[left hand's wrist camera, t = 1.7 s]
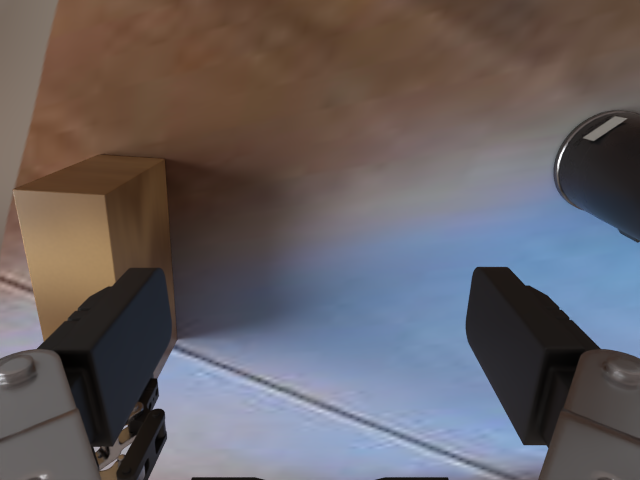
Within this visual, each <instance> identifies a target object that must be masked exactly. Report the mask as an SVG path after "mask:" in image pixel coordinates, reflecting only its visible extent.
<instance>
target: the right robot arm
mask: <svg viewBox="0 0 640 480" xmlns="http://www.w3.org/2000/svg"><path fill="white" fill-rule="evenodd" d="M158 397H159V392H158V382H157V378H154V374H152V376H151V378H150V380H149V382H148V384H147V385H146V387H145V389H144V391H143V393H142V394H141V396H140V398H139V400H138V402H137V404H136V405H135V407H134V409H133V411H132V413H131V415H130V416H129V418H128V420H127V422H126V424H125V425H127V424H128V427H126V428H125V429H123V430H122V431H121V433H120V435H119V437H118V438H117V440H116V442H115V444H114V446H113V447H100V449H99V450H98V451H97V452H96V453H95V451H94V448H93V447H91V449H92V452H93V455H94V458H95V461H96V464H97V467H98V470H99V473H100V476H101V479H102V480H148V478H149V476H150V474H151V472H152V470H153V468H154V465H155V463H156V461H157V459H158V457H159V455H160V452H161V450H162V448H163V446H164V444H165V442H166V440H167V432H166V428H165V412H164V410H162V409H154V410H153V407H154V405H155V403H156V400H157V399H158ZM131 443H132V444H131ZM129 444H131V446H130V448H129V450H128V452H127V453H126V455H124V454H122V455H120V454H121V451H122V450H123V449H124V448H125V447H126V446H128V445H129ZM116 459H117V461H116V462H115V463H114V465H113V466H112V467H111V468H109V469H107V470H104V471H100V470H101V469H103V468H104V467H105V466H107V465H108V464H110V463H111V462H113V461H114V460H116Z"/></svg>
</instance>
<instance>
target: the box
mask: <svg viewBox="0 0 640 480" xmlns="http://www.w3.org/2000/svg"><path fill="white" fill-rule="evenodd" d="M13 194H14V199H15V204H16V209H17V214H18V219H19V224H20V228H21V233H22V238H23V243H24V248H25V253H26V257H27V262H28V267H29V272H30V277H31V282H32V287H33V291H34V296H35V301H36V306H37V311H38V316H39V321H40V325H41V330H42V335H43V340H44V341H45V340H46V339H47V338H48V337H49V336H50V335H51V334H52V333H53V332H54V331H55V330H56V329H57V328H58V327H59V326H60V325H61V324H62V323H63V322H64V321H67V320H68V317H69V316H70V315H71V314H72V313H73V312H74V311H77V310H78V307H79V306H81V305H82V304H83V303H84V302H85V301H86V300H87V299H88V298H89V297H90V296H91V295H93V294H95V293H97V292H99V291H100V290H102V289H104V288H106V287H108V286H113V285H114V283H115V282H116V281H117V280H118V279H119V278H120V277H121V276H122V275H123V274H124V273H125V272H126V271H127V270H128V269H129V268H161V269H162V270H163V271H164V274H165V278H166V285H167V291H168V298H169V305H170V312H171V318H172V334H171V339H170V342H169V345H168V347H167V349H166V351H165V352H164V354H163V356H162V358H161V360H160V362H159V363H158V365H157V367H156V369H155V371H154V373H153V374H154V378H158V376H159V374H160V372H161V371H162V369H163V367H164V365H165V363H166V361H167V359H168V357H169V355H170V353H171V351H172V349H173V347H174V345H175V343H176V341H177V330H176V315H175V301H174V286H173V272H172V257H171V243H170V228H169V214H168V199H167V185H166V170H165V159H162V158H146V157H131V156H115V155H96V156H94V157H92V158H89V159H87V160H84V161H82V162H79V163H77V164H74V165H72V166H69V167H67V168H64V169H62V170H59V171H57V172H54V173H52V174H50V175H47V176H45V177H42V178H40V179H37V180H35V181H32V182H30V183H27V184H25V185H22V186H20V187H17V188H15V189H13ZM127 425H128V424H127Z"/></svg>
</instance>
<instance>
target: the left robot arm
mask: <svg viewBox="0 0 640 480" xmlns="http://www.w3.org/2000/svg"><path fill="white" fill-rule="evenodd" d="M554 181H555V185H556V188H557V190H558V192H559V193H560V195H561V196H562V197H563V198H564V199H565V200H566V201H567V202H568V203H569V204H571V205H573V206H575V207H576V208H579V209H581V210H584V211H586V212H588V213H590V214H592V215H594V216H595V217H597V218H599V219H601V220H603V221H604V222H606V223H608V224H610V225H612V226H614V227H616V228H617V229H618V230H619V232H620V233H621V234H623V235H625V236H627V237H628V238H630V239H632V240H634V241H636V242H637V243H638V242H640V115H639V114H636V113H633V112H627V111H608V112H603V113H600V114H597V115H594V116H592V117H590V118H588V119H587V120H585V121H584V122H582V123H581V124H579V125H578V126H577V127H576V128H575V129H574V130H573V131H572V132H571V133H570V134H569V135H568V136H567V137H566V139H565V140H564V142H563V143H562V145H561V147H560V149H559V151H558V153H557V156H556V159H555V164H554ZM171 334H172V318H171V312H170V305H169V298H168V291H167V285H166V278H165V274H164V271H163V270H162V269H161V268H129V269H128V270H127V271H126V272H125V273H124V274H123V275H122V276H121V277H120V278H119V279H118V280H117V281H116V282H115V283H114V285H113V286H108V287H106V288H104V289H102V290H100V291H99V292H97V293H95V294H93V295H91V296H90V297H89V298H88V299H87V300H86V301H85V302H84V303H83V304H82V305H81V306H79V307H78V310H77V311H74V312H73V313H72V314H71V315H70V316H69V317H68V320H67V321H64V322H63V323H62V324H61V325H60V326H59V327H58V328H57V329H56V330H55V331H54V332H53V333H52V334H51V335H50V336H49V337H48V338H47V339H46V340H45V341H44V342H43V343H42V344H41V345H40V346H39V347H38V348H37V349H34V350H26V351H21V352H18V353H14V354H11V355H8V356H5V357H3V358H1V359H0V480H102V479H101V476H100V473H99V470H98V467H97V464H96V461H95V458H94V455H93V452H92V449H91V447H113V446H114V444H115V442H116V440H117V438H118V437H119V435H120V433H121V431H122V429H123V427H124V426H125V424H126V422H127V420H128V418H129V416H130V415H131V413H132V411H133V409H134V407H135V405H136V404H137V402H138V400H139V398H140V396H141V394H142V393H143V391H144V389H145V387H146V385H147V384H148V382H149V380H150V378H151V376H152V374H153V373H154V371H155V369H156V367H157V365H158V363H159V362H160V360H161V358H162V356H163V354H164V352H165V351H166V349H167V347H168V345H169V342H170V339H171ZM466 335H467V339H468V342H469V345H470V347H471V348H472V350H473V352H474V354H475V356H476V358H477V360H478V361H479V363H480V365H481V367H482V369H483V371H484V373H485V374H486V376H487V378H488V380H489V382H490V384H491V386H492V387H493V389H494V391H495V393H496V395H497V397H498V399H499V400H500V402H501V404H502V406H503V408H504V410H505V411H506V413H507V415H508V417H509V419H510V421H511V423H512V424H513V426H514V428H515V430H516V432H517V434H518V436H519V437H520V439H521V441H522V443H523V445H547V447H548V448H549V449H548V452H547V455H546V458H545V461H544V464H543V467H542V470H541V473H540V476H539V479H538V480H640V359H639V358H637V357H635V356H632V355H629V354H626V353H622V352H619V351H614V350H606V349H600V348H599V347H598V346H597V345H596V344H595V343H594V342H593V341H592V340H591V339H590V338H589V337H588V336H587V335H586V334H585V333H584V332H583V331H582V330H581V329H580V328H579V327H578V326H577V325H576V324H575V323H574V322H573V321H572V320H569V317H568V316H567V315H566V314H565V313H564V312H563V311H562V310H559V307H558V306H557V305H556V304H555V303H554V302H553V301H552V300H551V299H550V298H549V297H548V296H547V295H545V294H544V293H542V292H540V291H538V290H536V289H534V288H533V287H531V286H525V285H524V284H523V283H522V282H521V280H520V279H519V278H518V277H517V276H516V275H515V274H514V273H513V272H512V271H511V270H510V269H509V268H508V267H477V268H475V270H474V272H473V276H472V282H471V289H470V295H469V302H468V309H467V316H466ZM191 480H263V479H259V478H255V477H192V479H191ZM377 480H449V479H448V477H385V478H381V479H377Z"/></svg>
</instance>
